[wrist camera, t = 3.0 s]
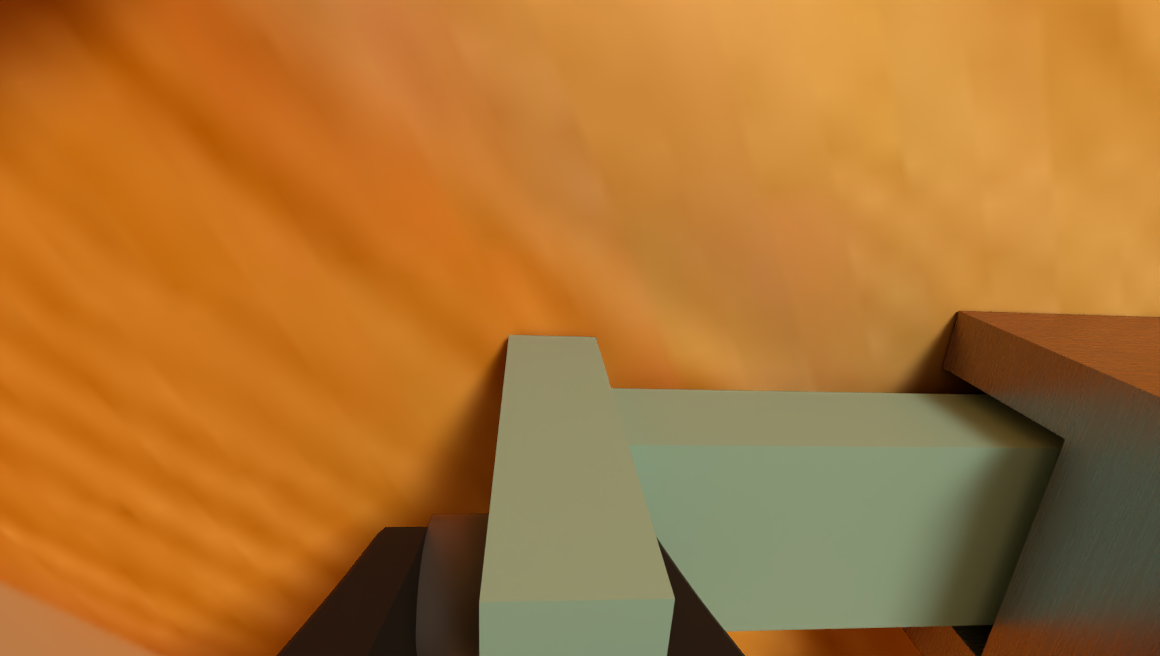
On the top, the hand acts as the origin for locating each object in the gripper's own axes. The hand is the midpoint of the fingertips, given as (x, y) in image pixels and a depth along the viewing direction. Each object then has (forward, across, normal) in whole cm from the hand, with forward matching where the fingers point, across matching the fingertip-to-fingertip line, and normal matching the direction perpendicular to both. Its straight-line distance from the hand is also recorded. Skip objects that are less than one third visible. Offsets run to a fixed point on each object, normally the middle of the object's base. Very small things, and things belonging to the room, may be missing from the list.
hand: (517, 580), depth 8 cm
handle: (+3, -5, 0) cm, 6 cm away
